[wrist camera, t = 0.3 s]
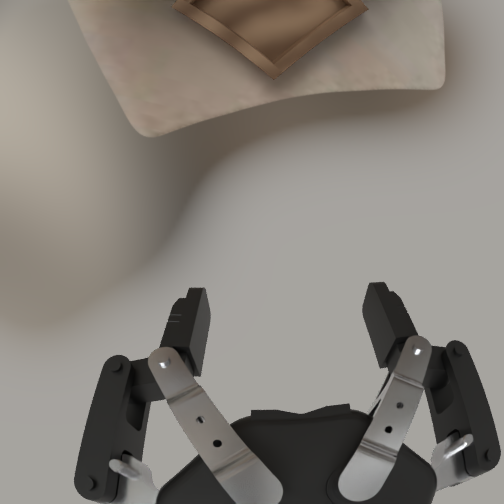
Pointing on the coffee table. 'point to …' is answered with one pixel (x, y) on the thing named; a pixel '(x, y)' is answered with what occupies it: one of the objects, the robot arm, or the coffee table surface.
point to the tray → (272, 26)
